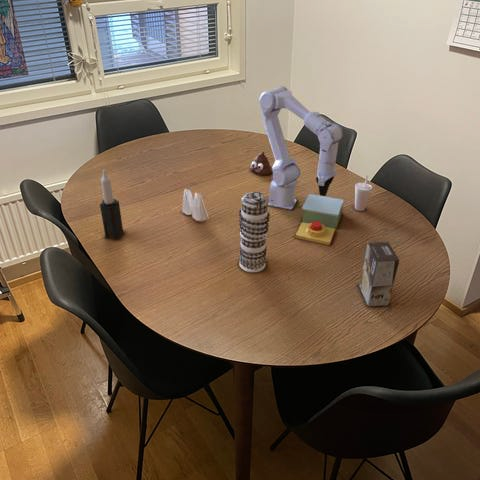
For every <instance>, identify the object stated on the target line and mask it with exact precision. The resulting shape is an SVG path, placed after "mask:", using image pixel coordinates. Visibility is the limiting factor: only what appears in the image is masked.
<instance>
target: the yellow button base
mask: <svg viewBox="0 0 480 480" xmlns="http://www.w3.org/2000/svg"><path fill="white" fill-rule="evenodd" d="M335 232H336V229H334V228H329V227H325V226H324V225H322V227H321V230H320V231H314V230H312V229H311V223H310V224H309V223H304V222H301V223H300V225H299V227H298V230H297V231H296V234H295V239H298V240H299V239H300V240H303V241H308V242H313V243H317V244H323V245H326V246H327V245H328V246H330V245H331V244H332V243H331V242H332V240H333V237H334V234H335Z"/></svg>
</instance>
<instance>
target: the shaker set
mask: <svg viewBox="0 0 480 480" xmlns="http://www.w3.org/2000/svg"><path fill="white" fill-rule="evenodd" d="M182 197H183V199H182V209H181V213H183V214H185V215H186V216H191V218H193V219H194V220H195V221H197V222H199V223H202V222H204V221H206V220H207V219H210V217H209V213H208V211H207V208H206V205H205V203H204V199H203V197H202V195H201V193H199V192H198V193H197V192H194V194H192V191H191V190H190V189H189V188H188V189H187V188H184V189H183V195H182Z"/></svg>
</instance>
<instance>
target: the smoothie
mask: <svg viewBox="0 0 480 480" xmlns="http://www.w3.org/2000/svg"><path fill="white" fill-rule="evenodd" d="M368 177H369V176H368V175H366V176H365V181H364V182H357V183H355V185H354V210H356V211H358V212H363V211H365V209H366V206H367V203H368V200H369V198H370V194H371V192H372V191H373V186H372V185H371V184H369V183H367V182H368Z"/></svg>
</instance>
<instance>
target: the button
mask: <svg viewBox="0 0 480 480" xmlns="http://www.w3.org/2000/svg"><path fill="white" fill-rule="evenodd" d="M321 227H322V223H321V222H318V221H313V222H312V223H311V229H312V230H314V231H320V230H321Z"/></svg>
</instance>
